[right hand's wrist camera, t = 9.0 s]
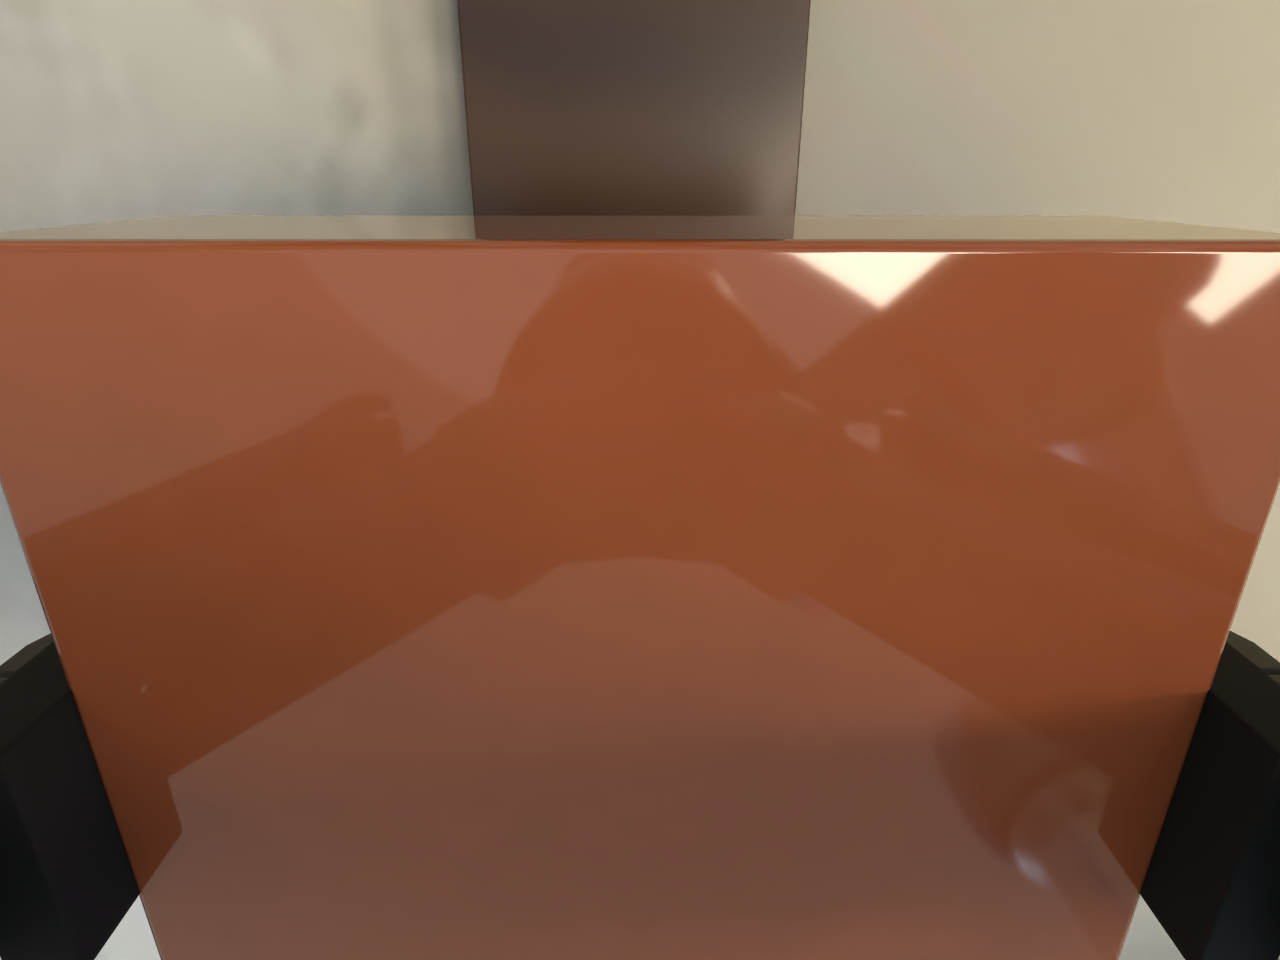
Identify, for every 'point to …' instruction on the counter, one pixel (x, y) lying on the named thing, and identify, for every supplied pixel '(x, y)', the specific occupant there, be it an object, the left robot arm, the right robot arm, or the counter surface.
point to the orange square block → (639, 570)
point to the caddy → (634, 106)
